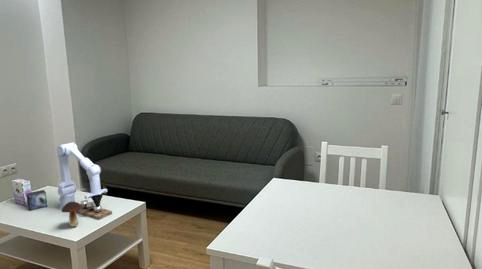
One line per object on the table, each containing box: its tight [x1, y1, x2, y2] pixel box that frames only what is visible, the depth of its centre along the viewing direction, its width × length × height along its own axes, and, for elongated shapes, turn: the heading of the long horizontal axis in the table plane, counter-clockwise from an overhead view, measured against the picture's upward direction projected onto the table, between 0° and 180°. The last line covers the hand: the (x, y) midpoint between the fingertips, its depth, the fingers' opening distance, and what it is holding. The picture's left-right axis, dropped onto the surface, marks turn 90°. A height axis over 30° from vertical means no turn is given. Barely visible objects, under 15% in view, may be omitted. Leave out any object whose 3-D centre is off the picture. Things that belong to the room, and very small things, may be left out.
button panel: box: [75, 205, 113, 221], centre depth 221 cm, size 26×10×2 cm, turn 58°
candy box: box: [11, 178, 33, 207], centre depth 241 cm, size 14×6×16 cm, turn 58°
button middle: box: [87, 201, 95, 210], centre depth 220 cm, size 4×4×4 cm
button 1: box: [80, 199, 89, 208], centre depth 223 cm, size 4×4×4 cm
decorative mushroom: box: [61, 201, 83, 228], centre depth 200 cm, size 11×11×15 cm
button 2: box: [94, 204, 103, 213], centre depth 217 cm, size 4×4×4 cm
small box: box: [26, 189, 49, 212], centre depth 232 cm, size 11×6×10 cm, turn 131°
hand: (97, 206), depth 217 cm, fingers closed, pressing on button 2
